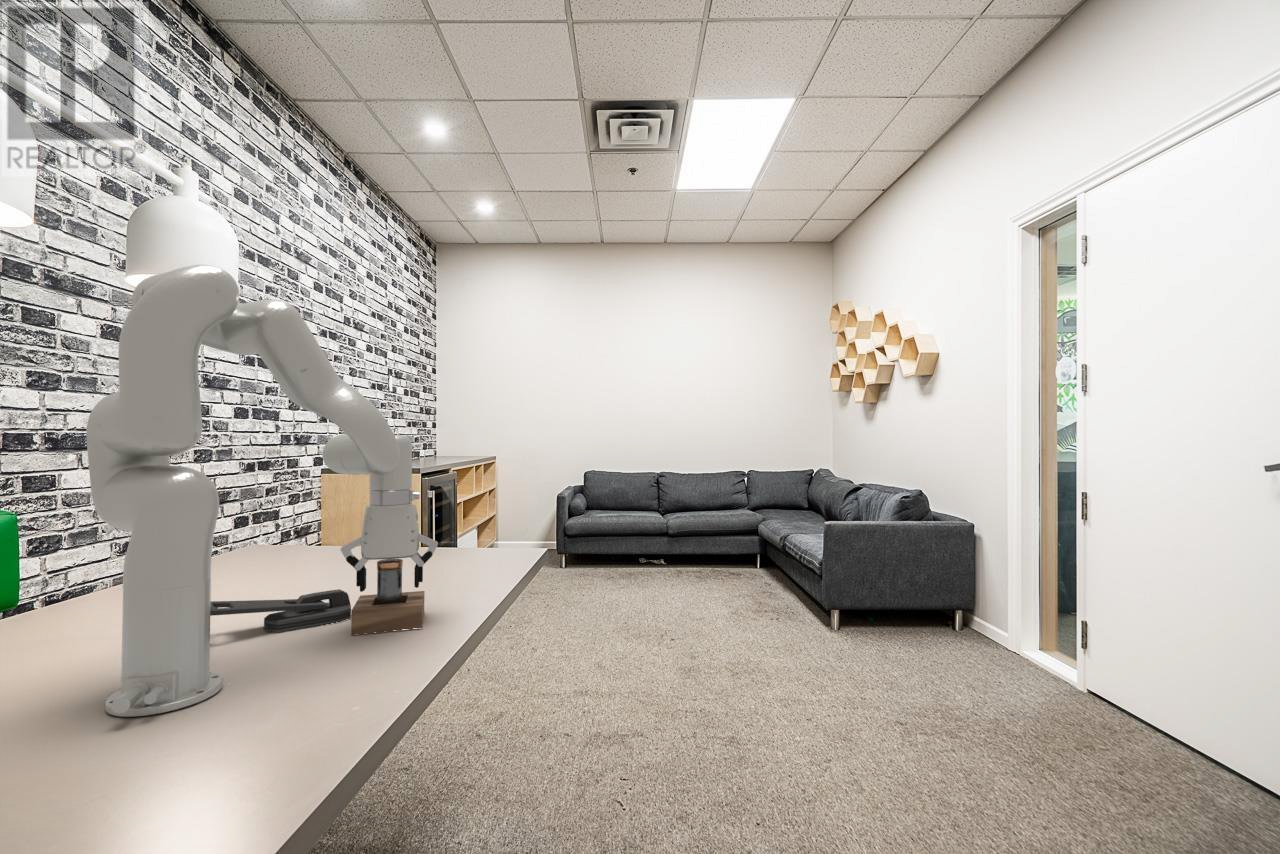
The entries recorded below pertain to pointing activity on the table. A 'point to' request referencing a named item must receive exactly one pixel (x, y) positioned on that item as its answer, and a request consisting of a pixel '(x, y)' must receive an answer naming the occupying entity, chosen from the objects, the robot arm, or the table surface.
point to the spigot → (389, 581)
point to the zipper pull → (292, 610)
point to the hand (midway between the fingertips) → (390, 588)
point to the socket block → (387, 614)
